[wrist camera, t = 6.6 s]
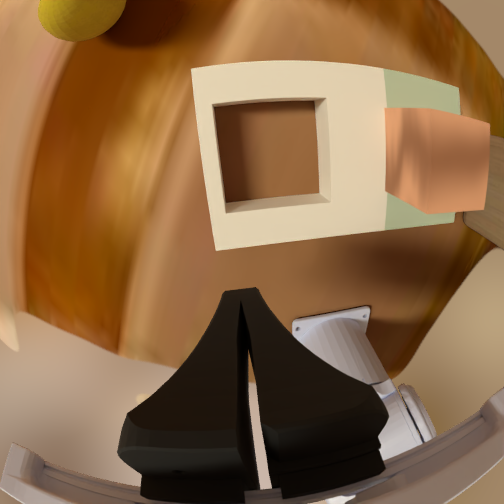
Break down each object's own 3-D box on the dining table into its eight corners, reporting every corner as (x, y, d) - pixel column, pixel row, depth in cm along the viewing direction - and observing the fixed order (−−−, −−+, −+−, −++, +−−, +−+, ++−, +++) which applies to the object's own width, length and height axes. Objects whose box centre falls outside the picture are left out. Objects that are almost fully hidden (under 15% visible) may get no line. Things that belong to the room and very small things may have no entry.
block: (441, 189, 18) (483, 209, 13) (384, 191, 17) (426, 214, 13) (443, 117, 15) (489, 123, 10) (384, 107, 15) (430, 108, 10)
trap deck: (437, 212, 21) (453, 222, 19) (217, 236, 21) (215, 250, 18) (440, 88, 16) (458, 87, 14) (195, 76, 15) (191, 68, 13)
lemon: (128, -18, 10) (90, -64, 3) (149, 24, 13) (108, -22, 6) (69, 20, 11) (13, -6, 4) (85, 64, 13) (22, 46, 6)
